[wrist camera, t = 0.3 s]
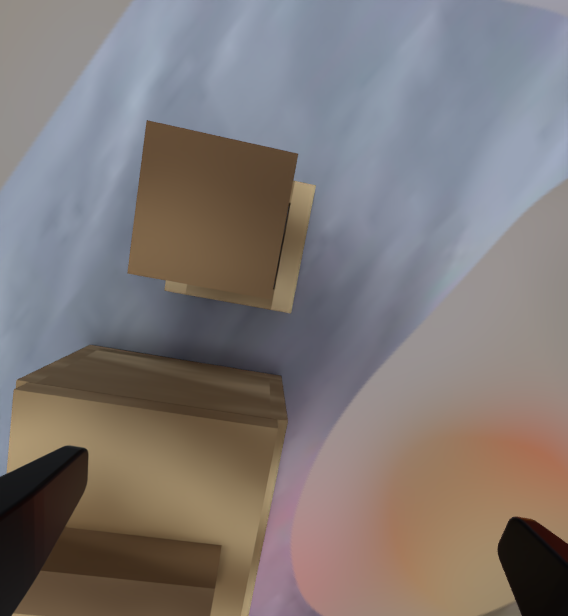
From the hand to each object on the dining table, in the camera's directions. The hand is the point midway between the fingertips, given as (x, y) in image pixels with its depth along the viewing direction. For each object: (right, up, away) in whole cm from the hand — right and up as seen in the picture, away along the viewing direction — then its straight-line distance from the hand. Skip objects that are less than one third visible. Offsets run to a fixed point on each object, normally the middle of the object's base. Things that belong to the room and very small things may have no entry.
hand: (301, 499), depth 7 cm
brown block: (-3, +8, +13) cm, 15 cm away
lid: (-7, -7, +9) cm, 13 cm away
